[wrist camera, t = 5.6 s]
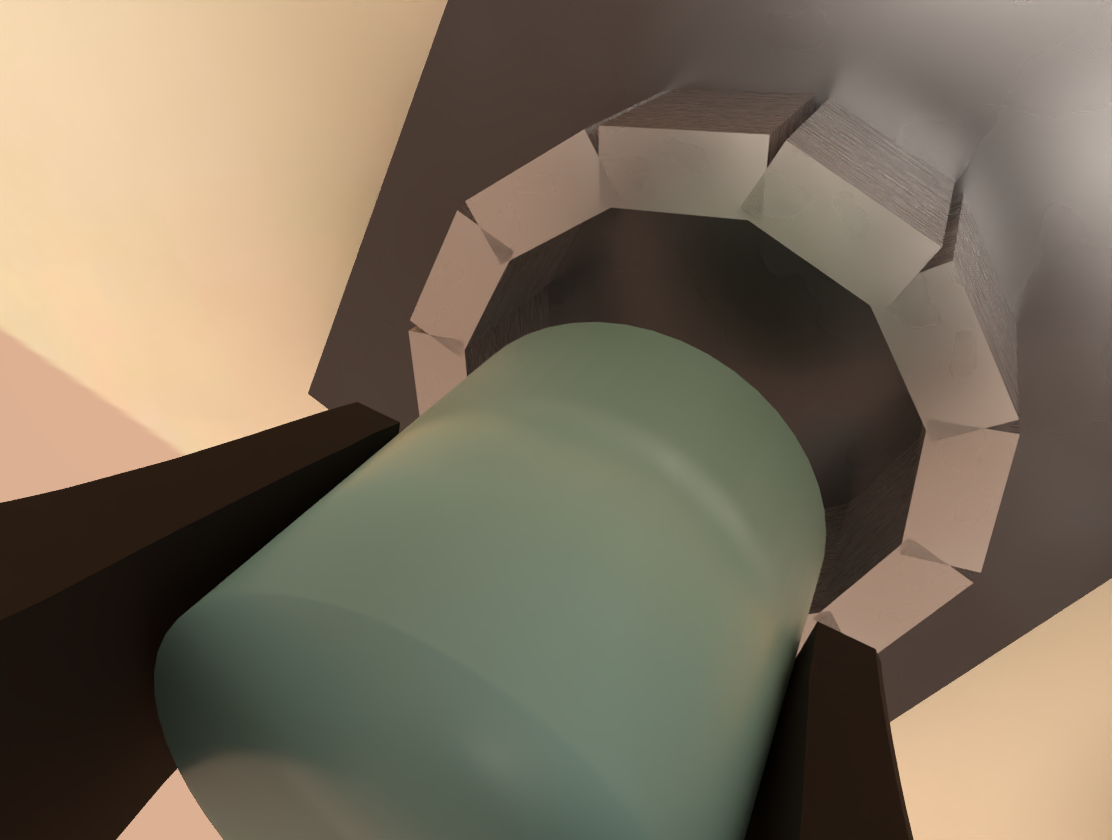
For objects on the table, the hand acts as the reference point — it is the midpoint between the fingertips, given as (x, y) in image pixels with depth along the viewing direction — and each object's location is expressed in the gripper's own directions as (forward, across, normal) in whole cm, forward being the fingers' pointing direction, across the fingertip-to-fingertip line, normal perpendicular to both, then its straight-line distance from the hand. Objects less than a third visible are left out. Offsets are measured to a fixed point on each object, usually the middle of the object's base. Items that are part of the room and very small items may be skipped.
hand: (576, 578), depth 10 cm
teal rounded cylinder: (+1, 0, 0) cm, 1 cm away
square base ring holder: (+7, 0, 0) cm, 7 cm away
